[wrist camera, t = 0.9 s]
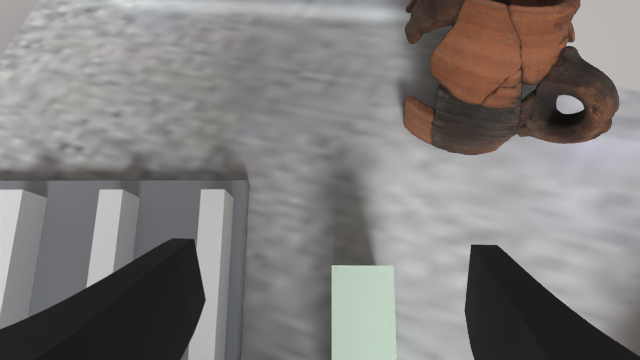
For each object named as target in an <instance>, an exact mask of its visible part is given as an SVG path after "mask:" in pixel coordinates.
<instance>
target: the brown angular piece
mask: <svg viewBox="0 0 640 360" xmlns="http://www.w3.org/2000/svg"><path fill="white" fill-rule="evenodd" d="M579 7H580V0H412V1H411V3H410V4H409V5H408V6H407V8H406V12H407V13H411V18H410V21H409V22H408V23H407V25H406V27H405V33H406V36H407V40H408V42H409V43H410V44H415V43H417V42H418V41H419V39H420V38H421V37H422V35H423V34H424V33H428V32H430V31H431V30H433V29H436V28H439V27H444V26H449V25H453V27H452V28H451V29H450V30H449V31H448V32H447V34H446V35H445V37H444V38H443V39H442V41H441V42H440V43H439V45H438V46H437V48H436V49H435V50H434V51H433V53H432V54H431V56H430V60H431V61H430V69H431V73H432V75H433V76H434V77H435V79H436V80H437V81H438V82H439V83H440V84H439V86H438V87H437V97H436V100H437V101H436V110H435V109H433V108H430V107H428V106H426V105H425V104H423V103H422V102H420V101H419V100H417V99H416V98H415V97H413V96H411V97H408V98H407V99H406V101H405V105H404V109H405V114H404V126H405V127H406V128H407V129H408V130H409V131H410V132H411V133H412V134H413V135H415V136H417V137H418V138H419V139H421V140H423V141H425V142H427V143H429V144H432V145H433V146H435V147H438V148H440V149H444V150H447V151H448V152H452V153H460V154H464V155H478V154H483V153H488V152H492V151H495V150H497V149H498V148H499V146H501V145H502V144H503V143H504V142H506V141H508V140H509V139H510V138H511V137H512V136H514V135H516V134H518V135H519V136H520V137H525V136H531V137H535V138H538V139H541V140H544V141H548V142H553V143H563V144H567V143H581V142H586V141H589V140H592V139H595V138H597V137H598V136H600V135H601V134H602V133H605V132H607V131H608V130H609V129H610V128H611V125H612V117H613V116H614V114H615V112H616V111H617V110H618V108H619V96H618V93H617V89H616V87H615V85H614V83H613V82H612V80H611V79H610V78H609V77H608V76H607V75H605V74H604V73H603V72H602V71H600V70H599V69H598V68H596V67H594V66H592V65H591V64H589V63H587V62H586V61H585V60H583V59H582V58H581V57H580V55H579V53H578V51H577V49H576V48H574V47H572V46H567V47H566V44H567V42H574V39H575V34H574V28H573V25H572V23H571V20H572V18H573V16H574V14H576V12H577V10H578V9H579ZM522 84H526V85H535V84H537V87H536V89H535V90H534V91H532V92H531V93H529V94H528V95H527V96H526V97H525V98H524V99H523V100H521V95H522ZM558 95H570V96H573V97H575V98H577V99H578V100H580V101H581V102H582V103H583V105H584V110H582V111H580V112H578V113H574V114H563V113H561V112H559V111H558V110H557V108H556V101H557V97H558Z"/></svg>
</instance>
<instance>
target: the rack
mask: <svg viewBox="0 0 640 360" xmlns="http://www.w3.org/2000/svg"><path fill="white" fill-rule="evenodd" d="M248 192H249V184H248V183H247V182H246V180H91V181H0V329H2V328H4V327H7V326H9V325H12V324H14V323H17V322H19V321H21V320H24V319H26V318H28V317H30V316H32V315H34V314H37V313H39V312H41V311H43V310H45V309H47V308H49V307H51V306H53V305H55V304H57V303H59V302H61V301H63V300H65V299H67V298H69V297H71V296H73V295H74V294H76V293H78V292H80V291H82V290H83V289H85V288H87V287H89V286H91V285H92V284H94V283H96V282H98V281H100V280H101V279H103V278H105V277H107V276H108V275H110V274H112V273H113V272H115V271H117V270H118V269H120V268H122V267H123V266H125V265H127V264H128V263H130V262H132V261H133V260H135V259H137V258H138V257H140V256H142V255H143V254H145V253H147V252H148V251H150V250H152V249H153V248H155V247H157V246H159V245H160V244H162V243H164V242H166V241H168V240H170V239H172V238H183V239H194V241H195V246H196V251H197V256H198V262H199V267H200V272H201V277H202V283H203V288H204V293H205V298H206V301H205V304H204V307H203V310H202V313H201V316H200V319H199V322H198V324H197V327H196V330H195V332H194V334H193V336H192V338H191V340H190V342H189V344H188V346H187V348H186V350H185V352H184V354H183V356H182V358H181V360H240V356H241V336H242V315H243V295H244V274H245V254H246V233H247V213H248Z"/></svg>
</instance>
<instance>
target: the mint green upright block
mask: <svg viewBox="0 0 640 360" xmlns="http://www.w3.org/2000/svg"><path fill="white" fill-rule="evenodd" d="M332 360H397V354H396V325H395V296H394V267H393V266H351V265H332Z"/></svg>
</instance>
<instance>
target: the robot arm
mask: <svg viewBox="0 0 640 360" xmlns="http://www.w3.org/2000/svg"><path fill="white" fill-rule="evenodd" d="M205 301H206V298H205V293H204V288H203V283H202V277H201V272H200V267H199V262H198V256H197V251H196V246H195V241H194V239H183V238H172V239H170V240H168V241H166V242H164V243H162V244H160V245H159V246H157V247H155V248H153V249H152V250H150V251H148V252H147V253H145V254H143V255H142V256H140V257H138V258H137V259H135V260H133V261H132V262H130V263H128V264H127V265H125V266H123V267H122V268H120V269H118V270H117V271H115V272H113V273H112V274H110V275H108V276H107V277H105V278H103V279H101V280H100V281H98V282H96V283H94V284H92V285H91V286H89V287H87V288H85V289H83V290H82V291H80V292H78V293H76V294H74V295H73V296H71V297H69V298H67V299H65V300H63V301H61V302H59V303H57V304H55V305H53V306H51V307H49V308H47V309H45V310H43V311H41V312H39V313H37V314H34V315H32V316H30V317H28V318H26V319H24V320H21V321H19V322H17V323H14V324H12V325H9V326H7V327H4V328H2V329H0V360H181V358H182V356H183V354H184V352H185V350H186V348H187V346H188V344H189V342H190V340H191V338H192V336H193V334H194V332H195V330H196V327H197V324H198V322H199V319H200V316H201V313H202V310H203V307H204V304H205ZM465 316H466V322H467V328H468V334H469V339H470V345H471V349H472V353H473V356H474V360H640V356H638V355H636V354H635V353H633V352H632V351H630V350H629V349H627V348H626V347H624V346H623V345H621V344H619V343H618V342H616V341H615V340H613V339H612V338H610V337H609V336H607V335H606V334H604V333H603V332H601V331H600V330H599V329H597V328H596V327H594V326H593V325H591V324H590V323H589V322H587V321H586V320H585V319H583V318H582V317H581V316H579V315H578V314H577V313H576V312H574V311H573V310H572V309H570V308H569V307H568V306H566V305H565V304H564V303H563V302H561V301H560V300H559V299H558V298H556V297H555V296H554V295H553V294H552V293H550V292H549V291H548V290H547V289H546V288H545V287H543V286H542V285H541V284H540V283H539V282H538V281H536V280H535V279H534V278H533V277H532V276H531V275H530V274H529V273H527V272H526V271H525V270H524V269H523V268H522V267H521V266H520V265H519V264H518V263H516V262H515V261H514V260H513V259H512V258H511V257H510V256H509V255H508V254H507V253H506V252H504V251H503V250H502V249H501V248H500V247H499V246H498V245H471V253H470V263H469V273H468V283H467V292H466V302H465Z"/></svg>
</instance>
